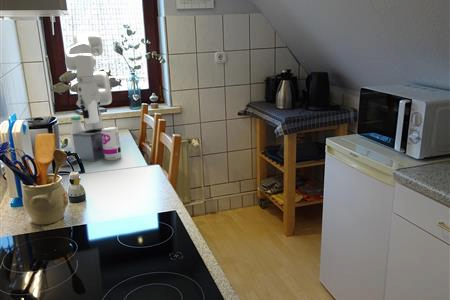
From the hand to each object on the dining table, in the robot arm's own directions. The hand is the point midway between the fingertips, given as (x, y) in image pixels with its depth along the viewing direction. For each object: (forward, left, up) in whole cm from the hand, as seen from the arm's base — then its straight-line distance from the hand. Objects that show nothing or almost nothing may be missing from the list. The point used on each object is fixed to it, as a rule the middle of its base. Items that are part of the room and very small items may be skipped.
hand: (91, 116), depth 197 cm
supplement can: (+11, -1, -21) cm, 24 cm away
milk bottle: (-12, +1, -21) cm, 24 cm away
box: (0, 0, -20) cm, 20 cm away
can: (0, 0, -3) cm, 3 cm away
